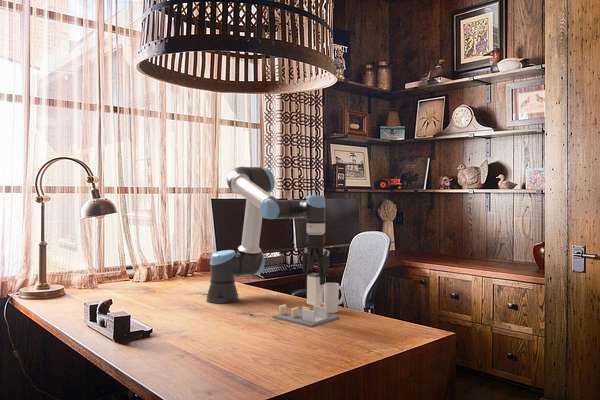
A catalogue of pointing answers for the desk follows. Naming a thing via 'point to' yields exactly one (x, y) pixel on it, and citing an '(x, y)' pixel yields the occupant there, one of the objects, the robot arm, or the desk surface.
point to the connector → (313, 290)
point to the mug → (332, 297)
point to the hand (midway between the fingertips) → (315, 291)
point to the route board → (305, 315)
